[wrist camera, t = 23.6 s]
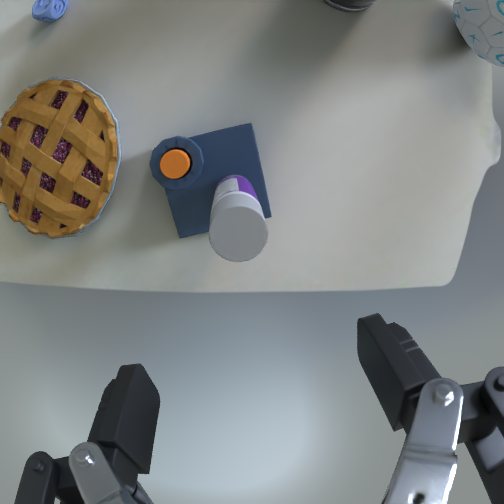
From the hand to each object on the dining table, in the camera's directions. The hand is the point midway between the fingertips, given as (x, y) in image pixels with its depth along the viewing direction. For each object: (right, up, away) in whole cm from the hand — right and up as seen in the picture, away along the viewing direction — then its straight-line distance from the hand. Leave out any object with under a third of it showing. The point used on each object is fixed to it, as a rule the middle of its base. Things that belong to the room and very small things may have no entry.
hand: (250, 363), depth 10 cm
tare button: (-9, +14, +23) cm, 28 cm away
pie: (-27, +17, +23) cm, 39 cm away
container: (-2, +11, +26) cm, 29 cm away
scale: (-5, +13, +27) cm, 30 cm away
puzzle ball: (+37, +41, +19) cm, 58 cm away
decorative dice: (-28, +39, +14) cm, 50 cm away
